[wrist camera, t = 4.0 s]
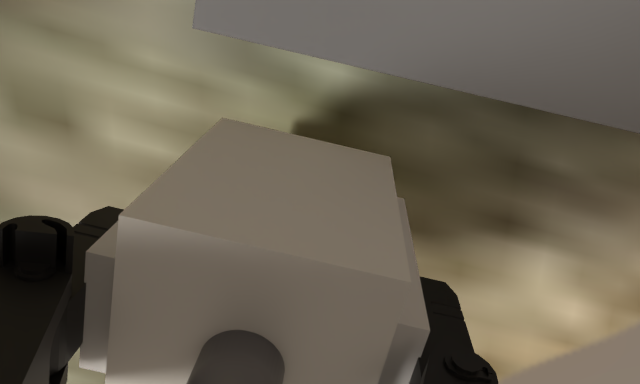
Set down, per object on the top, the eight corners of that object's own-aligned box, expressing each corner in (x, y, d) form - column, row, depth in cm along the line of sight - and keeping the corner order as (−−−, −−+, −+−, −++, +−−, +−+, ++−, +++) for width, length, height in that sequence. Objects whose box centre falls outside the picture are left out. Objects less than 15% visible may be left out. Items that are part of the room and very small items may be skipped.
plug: (238, 102, 17) (53, 276, 7) (387, 136, 17) (424, 361, 7) (217, 235, 19) (45, 531, 9) (351, 266, 19) (338, 596, 9)
